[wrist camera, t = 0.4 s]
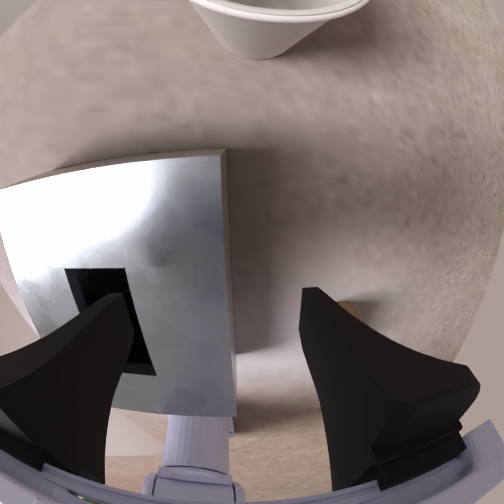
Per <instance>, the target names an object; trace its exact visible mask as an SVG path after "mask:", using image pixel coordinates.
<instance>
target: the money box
mask: <svg viewBox="0 0 504 504" xmlns="http://www.w3.org/2000/svg"><path fill="white" fill-rule="evenodd" d="M0 229H1V233H2V237H3V241H4V245H5V248H6V252H7V255H8V259H9V262H10V265H11V268H12V271H13V274H14V277H15V280H16V282H17V285H18V288H19V290H20V293H21V295H22V298H23V300H24V303H25V305H26V307H27V310H28V312H29V314H30V317H31V319H32V321H33V323H34V325H35V327H36V329H37V331H38V333H39V335H40V337H41V338H43V337H45V336H46V335H48V334H50V333H51V332H53V331H55V330H56V329H58V328H59V327H61V326H62V325H64V324H65V323H67V322H68V321H70V320H71V319H73V318H74V317H75V316H77V315H78V314H80V313H81V312H82V311H84V310H85V309H87V308H88V307H89V306H91V305H92V304H94V303H95V302H96V301H98V300H99V299H101V298H102V297H104V296H106V295H107V294H109V293H123V297H124V300H125V304H126V307H127V310H128V314H129V317H130V320H131V323H132V326H133V329H134V337H133V341H132V346H131V350H130V353H129V356H128V359H127V361H126V364H125V367H124V369H123V372H122V375H121V377H120V380H119V383H118V386H117V388H116V391H115V394H114V397H113V401H112V405H111V407H114V408H120V409H126V410H133V411H140V412H148V413H157V414H167V415H180V416H200V417H237V390H236V347H235V331H234V314H233V296H232V277H231V256H230V232H229V206H228V173H227V148H209V149H193V150H180V151H169V152H159V153H150V154H141V155H134V156H126V157H120V158H113V159H107V160H101V161H95V162H90V163H85V164H79V165H74V166H70V167H65V168H61V169H56V170H52V171H49V172H46V173H43V174H40V175H37V176H34V177H31V178H28V179H26V180H23V181H20V182H17V183H15V184H12V185H10V186H7V187H5V188H2V189H0Z"/></svg>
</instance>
